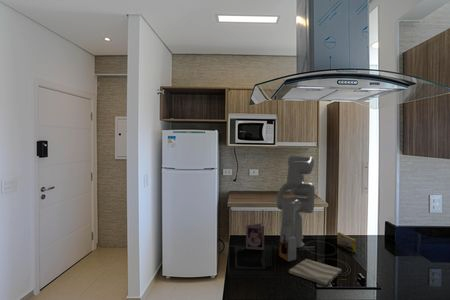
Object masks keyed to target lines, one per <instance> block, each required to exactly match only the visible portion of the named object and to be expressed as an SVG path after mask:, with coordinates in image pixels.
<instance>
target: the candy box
mask: <svg viewBox="0 0 450 300" xmlns="http://www.w3.org/2000/svg"><path fill="white" fill-rule="evenodd" d="M336 233H337V234H336V235H337V239H336V240H337V241H336V244H337V245H338V244H339V245H338V246H340V245H341V246H340V247H342V246H343V247H344V249H345V248H346V250H347V249H348V251H349V250H350V251H349V252H351V251H352V252H351V253H353V252H356V253H357V240H356V239H355V238H352V237H351V236H348V235H346V234H344V233H342V232H339V231H338V232H336ZM343 247H342V248H343Z"/></svg>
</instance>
